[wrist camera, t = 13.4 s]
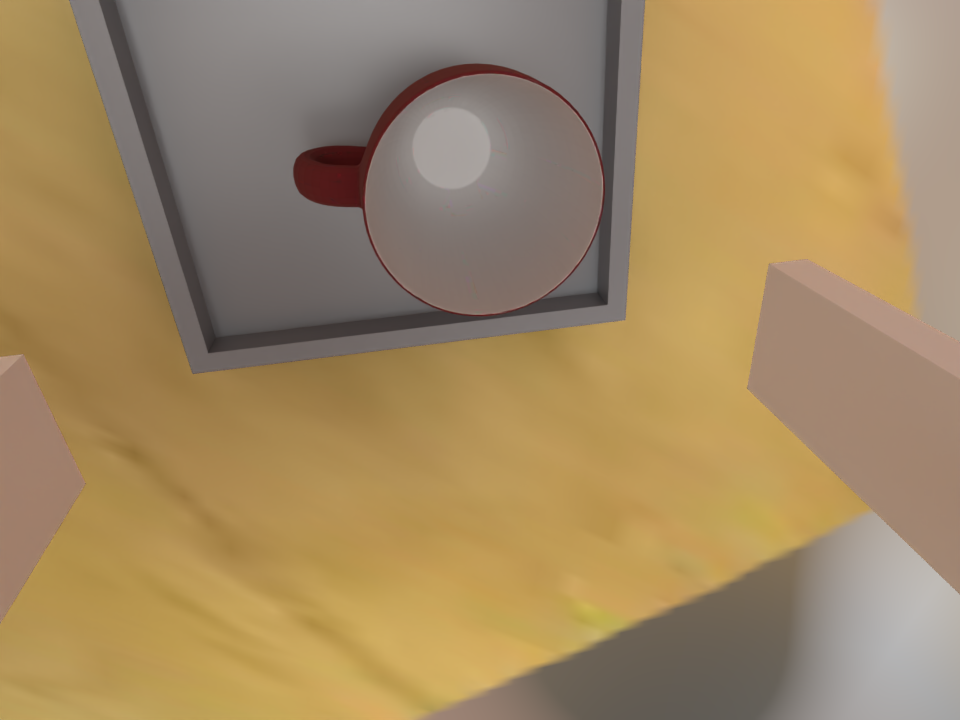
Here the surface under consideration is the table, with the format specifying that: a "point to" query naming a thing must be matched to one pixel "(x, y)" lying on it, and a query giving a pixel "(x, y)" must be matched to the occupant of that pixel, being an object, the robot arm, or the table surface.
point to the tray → (330, 122)
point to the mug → (470, 188)
